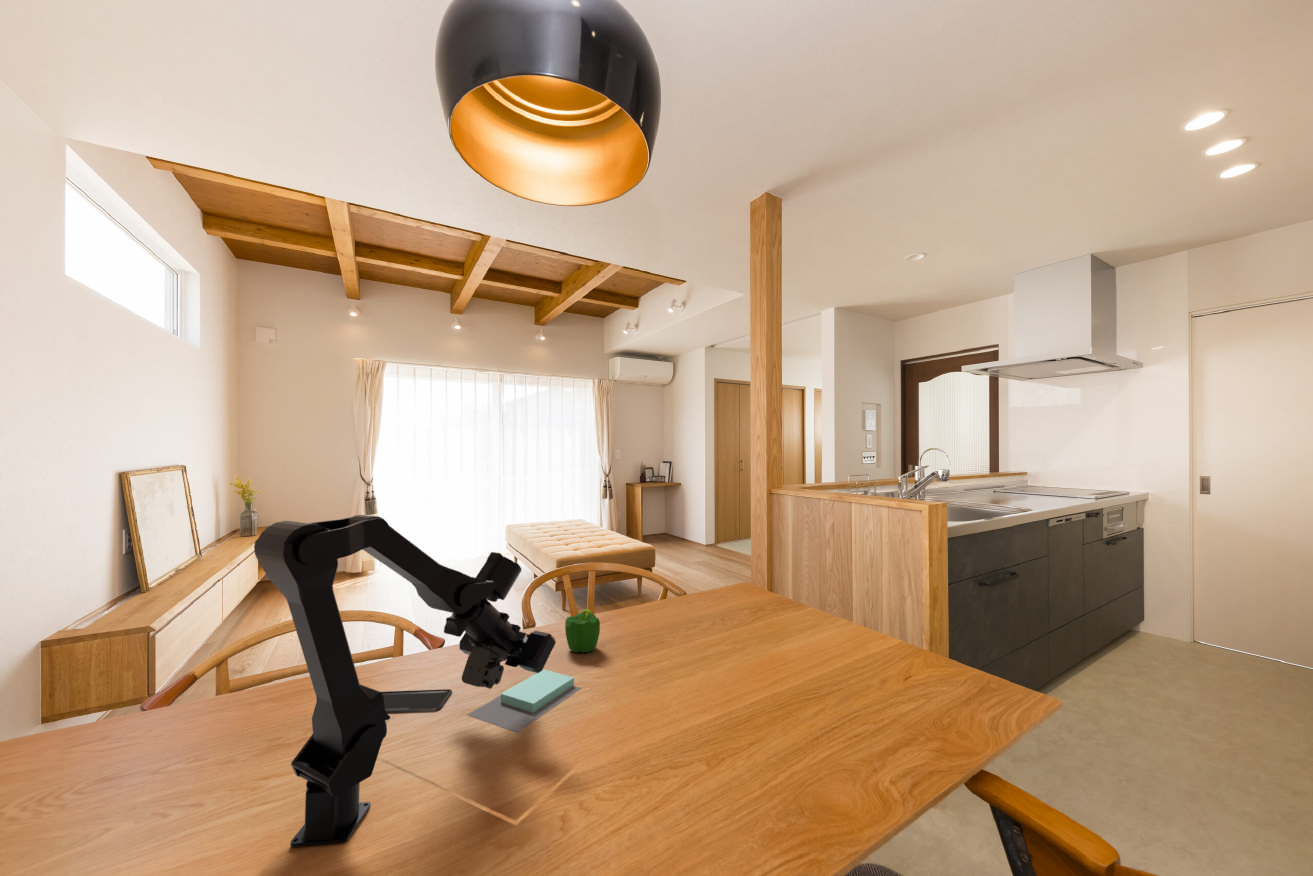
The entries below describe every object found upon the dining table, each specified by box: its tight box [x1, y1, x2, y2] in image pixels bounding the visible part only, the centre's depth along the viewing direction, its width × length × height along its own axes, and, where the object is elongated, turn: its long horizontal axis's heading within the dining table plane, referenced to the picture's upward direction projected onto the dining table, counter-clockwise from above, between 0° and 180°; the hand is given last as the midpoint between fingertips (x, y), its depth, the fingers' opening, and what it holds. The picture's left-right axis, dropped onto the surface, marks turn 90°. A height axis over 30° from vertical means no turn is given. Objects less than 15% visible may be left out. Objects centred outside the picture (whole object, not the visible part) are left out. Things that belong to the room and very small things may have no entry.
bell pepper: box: [564, 608, 601, 653], centre depth 119 cm, size 8×8×10 cm
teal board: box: [500, 668, 575, 713], centre depth 96 cm, size 2×8×12 cm
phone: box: [381, 688, 453, 714], centre depth 92 cm, size 8×1×15 cm
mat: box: [466, 685, 582, 734], centre depth 93 cm, size 18×12×1 cm, turn 152°
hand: (528, 664), depth 93 cm, fingers closed
